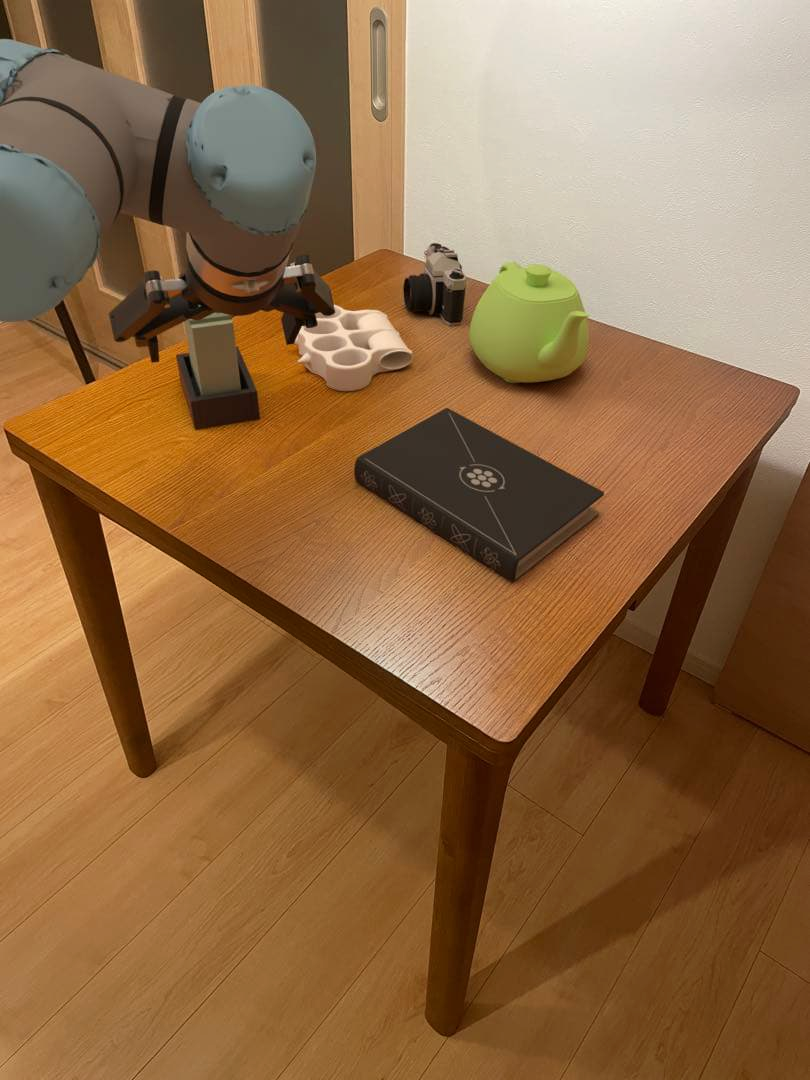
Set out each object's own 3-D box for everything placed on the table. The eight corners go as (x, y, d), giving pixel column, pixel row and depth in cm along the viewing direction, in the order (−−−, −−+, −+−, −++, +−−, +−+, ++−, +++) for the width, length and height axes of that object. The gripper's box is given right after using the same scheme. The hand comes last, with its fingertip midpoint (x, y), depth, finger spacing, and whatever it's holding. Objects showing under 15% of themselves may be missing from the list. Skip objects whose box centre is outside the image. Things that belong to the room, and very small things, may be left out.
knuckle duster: (420, 381, 102) (308, 398, 98) (378, 318, 114) (277, 330, 111) (421, 358, 100) (307, 373, 96) (378, 296, 112) (276, 308, 108)
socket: (195, 429, 92) (190, 401, 90) (180, 381, 100) (175, 354, 97) (260, 418, 94) (257, 390, 92) (240, 372, 102) (237, 345, 99)
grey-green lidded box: (204, 414, 93) (190, 323, 85) (192, 380, 99) (178, 292, 91) (243, 408, 94) (233, 318, 87) (230, 375, 100) (219, 287, 92)
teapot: (619, 402, 100) (644, 304, 91) (510, 420, 96) (525, 319, 87) (542, 323, 115) (557, 232, 106) (445, 336, 111) (452, 242, 102)
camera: (392, 290, 121) (394, 233, 115) (440, 285, 123) (445, 228, 117) (418, 336, 113) (422, 277, 106) (469, 329, 115) (476, 271, 108)
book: (353, 481, 86) (353, 459, 84) (445, 428, 94) (446, 407, 92) (511, 584, 75) (515, 561, 73) (599, 514, 83) (605, 492, 81)
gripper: (73, 320, 57) (100, 394, 77) (402, 282, 64) (347, 359, 84) (51, 217, 57) (84, 318, 77) (382, 191, 64) (332, 290, 84)
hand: (221, 340), depth 81 cm, fingers open, 13 cm apart
